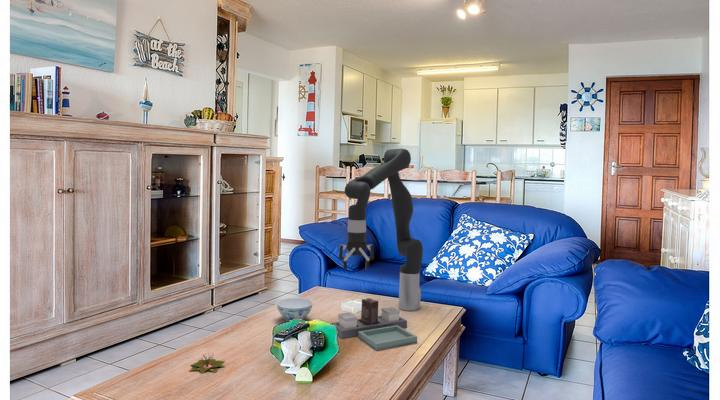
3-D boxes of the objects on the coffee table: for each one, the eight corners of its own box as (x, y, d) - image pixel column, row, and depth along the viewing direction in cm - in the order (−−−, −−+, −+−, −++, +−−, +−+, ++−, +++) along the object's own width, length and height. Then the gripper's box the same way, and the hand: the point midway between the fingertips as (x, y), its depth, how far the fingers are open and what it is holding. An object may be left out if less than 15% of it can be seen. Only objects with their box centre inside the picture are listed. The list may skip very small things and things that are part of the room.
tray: (396, 331, 195) (397, 325, 195) (417, 342, 183) (417, 336, 182) (357, 337, 186) (358, 331, 186) (376, 350, 174) (376, 344, 174)
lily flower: (196, 359, 163) (196, 346, 163) (231, 360, 163) (231, 347, 163) (182, 375, 151) (181, 361, 151) (219, 376, 151) (219, 362, 151)
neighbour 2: (391, 322, 205) (391, 306, 205) (399, 327, 200) (399, 310, 199) (380, 324, 203) (381, 308, 202) (388, 328, 198) (389, 312, 197)
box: (378, 329, 196) (378, 301, 195) (369, 332, 193) (370, 302, 192) (368, 325, 200) (369, 297, 200) (360, 327, 198) (360, 299, 197)
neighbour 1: (349, 329, 196) (349, 312, 195) (356, 334, 190) (357, 316, 190) (338, 331, 193) (338, 314, 193) (345, 336, 188) (345, 318, 187)
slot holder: (393, 320, 208) (393, 313, 208) (406, 327, 199) (407, 320, 199) (330, 330, 194) (330, 322, 194) (341, 338, 185) (341, 331, 185)
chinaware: (319, 321, 205) (319, 303, 204) (291, 329, 194) (292, 310, 193) (296, 312, 215) (297, 295, 214) (269, 320, 204) (269, 302, 203)
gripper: (372, 229, 201) (372, 267, 202) (338, 229, 199) (338, 267, 200) (375, 232, 193) (374, 271, 194) (340, 231, 192) (339, 272, 193)
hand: (356, 269), depth 197 cm, fingers open, 8 cm apart
